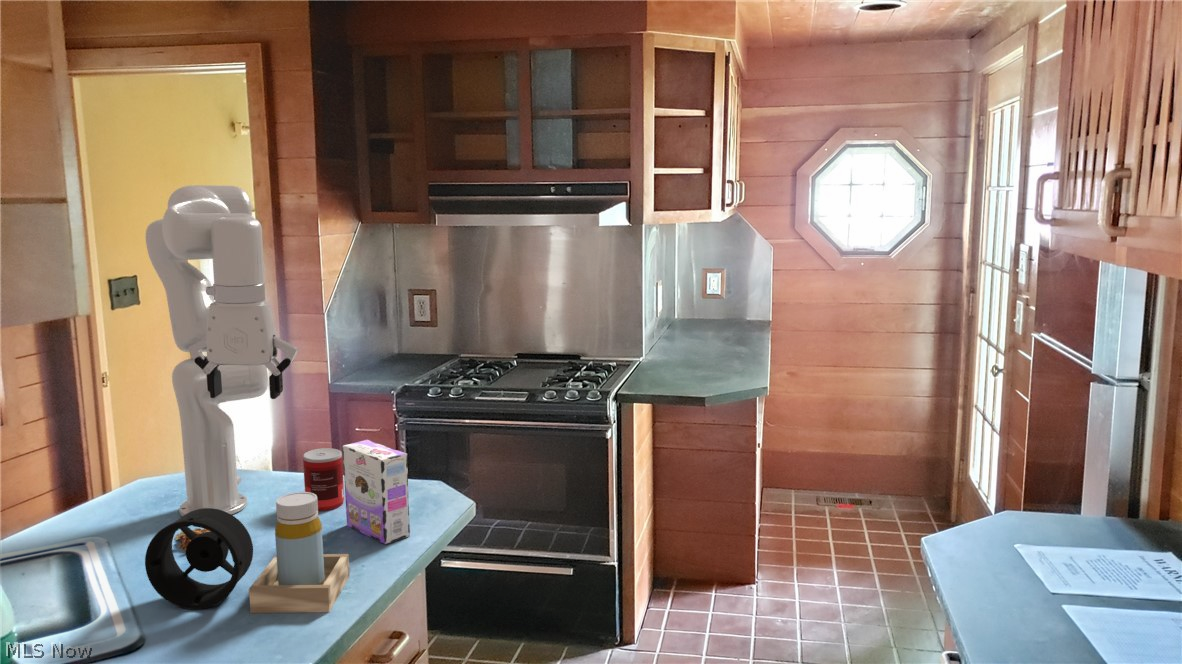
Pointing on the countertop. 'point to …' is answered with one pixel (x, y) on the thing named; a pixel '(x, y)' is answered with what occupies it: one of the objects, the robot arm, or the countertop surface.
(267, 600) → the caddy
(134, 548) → the countertop surface
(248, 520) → the countertop surface
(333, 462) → the canned food
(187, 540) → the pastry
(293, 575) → the bottle
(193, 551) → the black ducted fan housing
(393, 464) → the candy box
